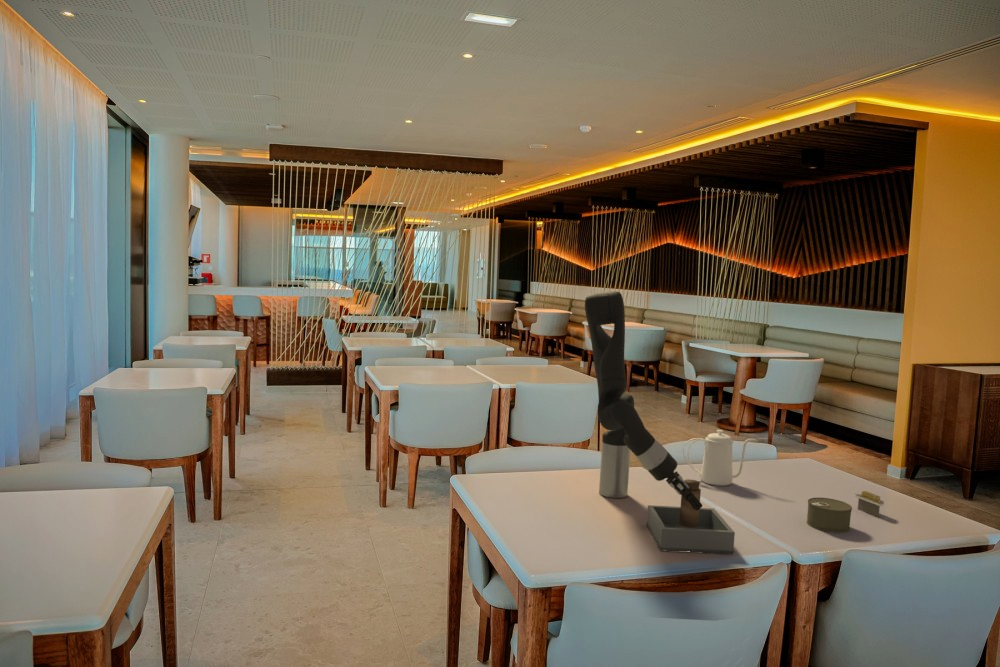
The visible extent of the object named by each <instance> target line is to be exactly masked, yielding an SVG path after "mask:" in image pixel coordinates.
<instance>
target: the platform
mask: <svg viewBox="0 0 1000 667" xmlns="http://www.w3.org/2000/svg"><path fill="white" fill-rule="evenodd" d="M854 497H856V498H857V499H858V501H857V502H858V503H857V510H859V511H861V512H863V513H866V514H868V515H870V516H873V517H875V518H879V517H880V508H881V507H884V506H885V505H884V504H885V501H883V500H881V496H879V495H878V494H875V493H872V492H869V491H867V490H864V491H861V494H859V493H858V494H856V493H855V494H854Z"/></svg>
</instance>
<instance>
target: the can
mask: <svg viewBox="0 0 1000 667" xmlns="http://www.w3.org/2000/svg"><path fill="white" fill-rule="evenodd" d="M852 510H853V507H852V505H851V504H849V503H847V502H845V501H841V500H838V499H834V498H829V497H811V498H809V499H807V515H806V516H807V518H806V524H807V525H808V526H809V527H811V528H813V529H815V530H818V531H821V532H825V533H831V532H833V533H832V534H845V533H847V531H848V532H849V531H850V525H851V515H852ZM844 532H845V533H844Z"/></svg>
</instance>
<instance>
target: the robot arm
mask: <svg viewBox="0 0 1000 667" xmlns="http://www.w3.org/2000/svg"><path fill="white" fill-rule="evenodd" d="M584 311H585V312H584V313H585V317H586V323H587V326H588V329H589V330H588V331H589V335H590V341H591V349H592V359H593V367H594V371H595V377H596V383H597V391H598V393H597V394H598V405H597V416H598V421H599V423H600V425H601V427H602V428H603V429H605V430H607V431H604V432H603V433H602V437H601V438H602V439H601V452H600V454H601V457H600V471H599V472H600V474H599V485H598V486H599V488H598V494H599V495H601V496H603V497H606V498H610V499H611V498H613V499H623V498H625V497H628V493H629V492H628V490H629V478H630V477H629V474H630V460H631V458H630V457H631V453H633V455H634V456H635V457H636V458H637V459H638V461H639V463H640V464H641V465H642V466H643V467H644V468H645V469H646V471H648V473H649V474H650V475H651V476H652V477H653V478H654V479H655V480H656V481H657V482H660V481H664V480H665V481H666V482H667V484H668V486H670V487H671V488H673V490H675V492H676V493H677V494H678V495H679V496H681V495H682V496H683V497H684V498H685V500H686V501H688V502H689V503H690V504H691V505H692V506H693V507H694V508H695V509H696V510H699V509H700V508H703V503H701V501H700V502H699V500H698V499H697V498H696V497H695V496H694V494H693V493H692V492H691V491H690V490H689V486H688V485H687V484H686V483H685V482H684V480H685V479H683V476H682V475H681V474H680V473H679V472H678V471H676V469H677V467H678V462H677V460H676V459H675V458H674V457H673V455H672V454H671V453H669V451H668V450H667V449H666V448H665V447H664V446H663V445H662V443H660V442H659V441H658V440H657V439H656V438H655V437H654V436H653V435H652V434H651V433H650V431H649V430H648V429H647V428H646V427H645V425H644V422H643V421H642V419H641V417H640V415H639V413H638V412H637V409H636V408H635V400H634V397H633V396H632V395H631V394H625V392H626V391H627V377H626V368H625V367H626V365H625V364H626V363H625V342H626V338H625V337H626V328H625V327H626V314H625V313H626V312H625V302H624V297H623V296H622V293H621V292H619V291H606V292H598V293H591V294H589V295H587V296H586V297H585V298H584ZM603 325H605V326H606V325H607V326H608V325H613V333H612V336H610V335H609V334H608V333H607V332H606V331H605V330H604V329H603V327H602V326H603ZM684 484H685V485H684ZM687 492H689V493H690V494H688V495H687V496H685V494H686V493H687Z"/></svg>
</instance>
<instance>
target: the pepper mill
mask: <svg viewBox="0 0 1000 667" xmlns="http://www.w3.org/2000/svg"><path fill="white" fill-rule="evenodd" d="M683 480H684V482H685V483H686V484H687V485H688V486H689V490H690V491H691V492H692V493H693V494H694V496H695V497H696V498H697V499H698V500H699V502H700V503H701V491H702V489H701V488H700V481H698V480H695V479H689V478H687V479H683ZM684 485H685V484H684ZM688 494H690V493H689V492H687V493H686V494H685V496H687V495H688ZM680 496H681V498H680V506H679V507H680V521H679V524H680V525H682V526H685V527H691V528H694V527H698V521H699V510H696V509H695V508H694V507H693V506H692V505H691V504H690V503H689V502H688V501H686V500H685V498H684V497H683V496H682V495H680Z"/></svg>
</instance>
